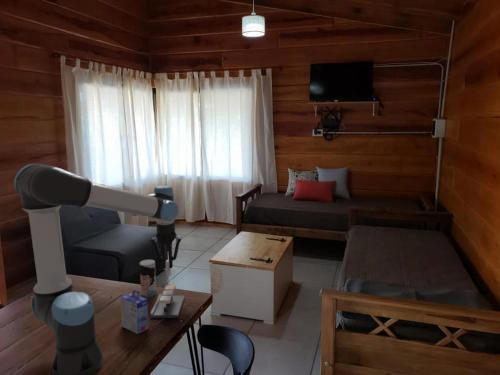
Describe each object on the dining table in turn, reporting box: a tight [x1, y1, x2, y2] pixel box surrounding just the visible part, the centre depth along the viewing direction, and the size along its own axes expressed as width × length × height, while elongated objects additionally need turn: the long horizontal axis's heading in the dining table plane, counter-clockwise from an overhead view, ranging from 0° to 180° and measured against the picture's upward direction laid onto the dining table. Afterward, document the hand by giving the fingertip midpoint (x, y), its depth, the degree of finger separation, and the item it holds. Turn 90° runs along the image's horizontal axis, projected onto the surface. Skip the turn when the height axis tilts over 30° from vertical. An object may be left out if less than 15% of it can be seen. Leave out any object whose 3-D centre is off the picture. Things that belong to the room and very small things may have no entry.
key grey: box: [161, 290, 174, 298], centre depth 160 cm, size 4×4×1 cm
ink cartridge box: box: [120, 289, 149, 335], centre depth 145 cm, size 10×6×14 cm, turn 55°
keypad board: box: [149, 293, 185, 319], centre depth 161 cm, size 17×11×2 cm, turn 1°
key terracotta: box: [163, 284, 176, 293], centre depth 165 cm, size 4×4×1 cm
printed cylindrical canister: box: [139, 259, 157, 298], centre depth 173 cm, size 7×7×15 cm
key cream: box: [159, 296, 171, 304], centre depth 155 cm, size 4×4×1 cm
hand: (168, 275), depth 164 cm, fingers closed
